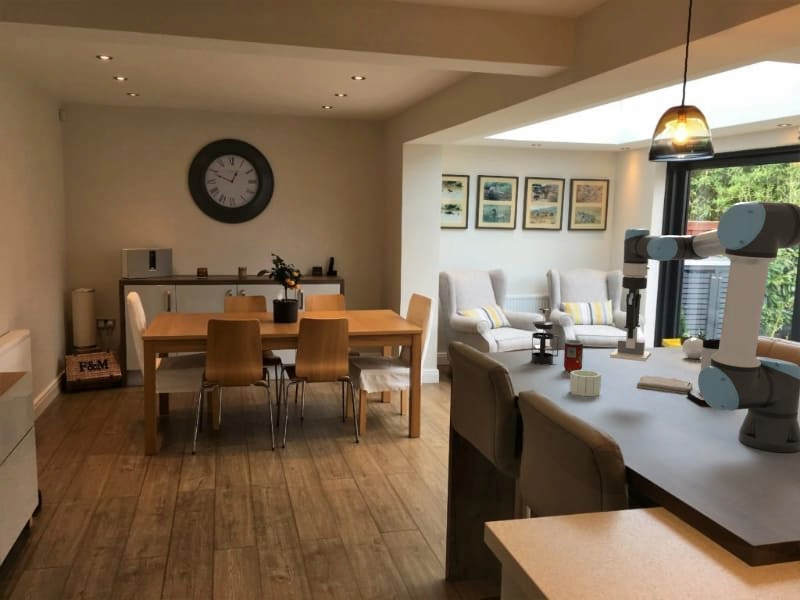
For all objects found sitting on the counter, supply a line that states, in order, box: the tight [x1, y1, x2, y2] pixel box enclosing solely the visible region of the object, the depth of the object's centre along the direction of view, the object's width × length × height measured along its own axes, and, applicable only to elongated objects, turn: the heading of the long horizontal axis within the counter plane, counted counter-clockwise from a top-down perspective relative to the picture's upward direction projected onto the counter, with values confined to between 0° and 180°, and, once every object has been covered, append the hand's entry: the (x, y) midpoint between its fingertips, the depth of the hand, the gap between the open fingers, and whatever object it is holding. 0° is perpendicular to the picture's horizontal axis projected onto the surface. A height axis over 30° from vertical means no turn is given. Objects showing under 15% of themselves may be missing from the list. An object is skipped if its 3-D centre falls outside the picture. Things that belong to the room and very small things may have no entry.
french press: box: [530, 307, 560, 365], centre depth 271 cm, size 12×9×23 cm
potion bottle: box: [681, 337, 703, 360], centre depth 281 cm, size 9×10×15 cm
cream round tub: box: [569, 369, 602, 397], centre depth 224 cm, size 10×10×7 cm
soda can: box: [563, 339, 584, 373], centre depth 255 cm, size 7×7×12 cm
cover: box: [609, 339, 652, 362], centre depth 212 cm, size 11×11×5 cm
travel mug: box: [698, 338, 720, 392], centre depth 222 cm, size 6×7×20 cm
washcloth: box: [636, 375, 693, 394], centre depth 233 cm, size 12×18×3 cm, turn 61°
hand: (631, 347), depth 212 cm, fingers closed on cover, 2 cm apart
